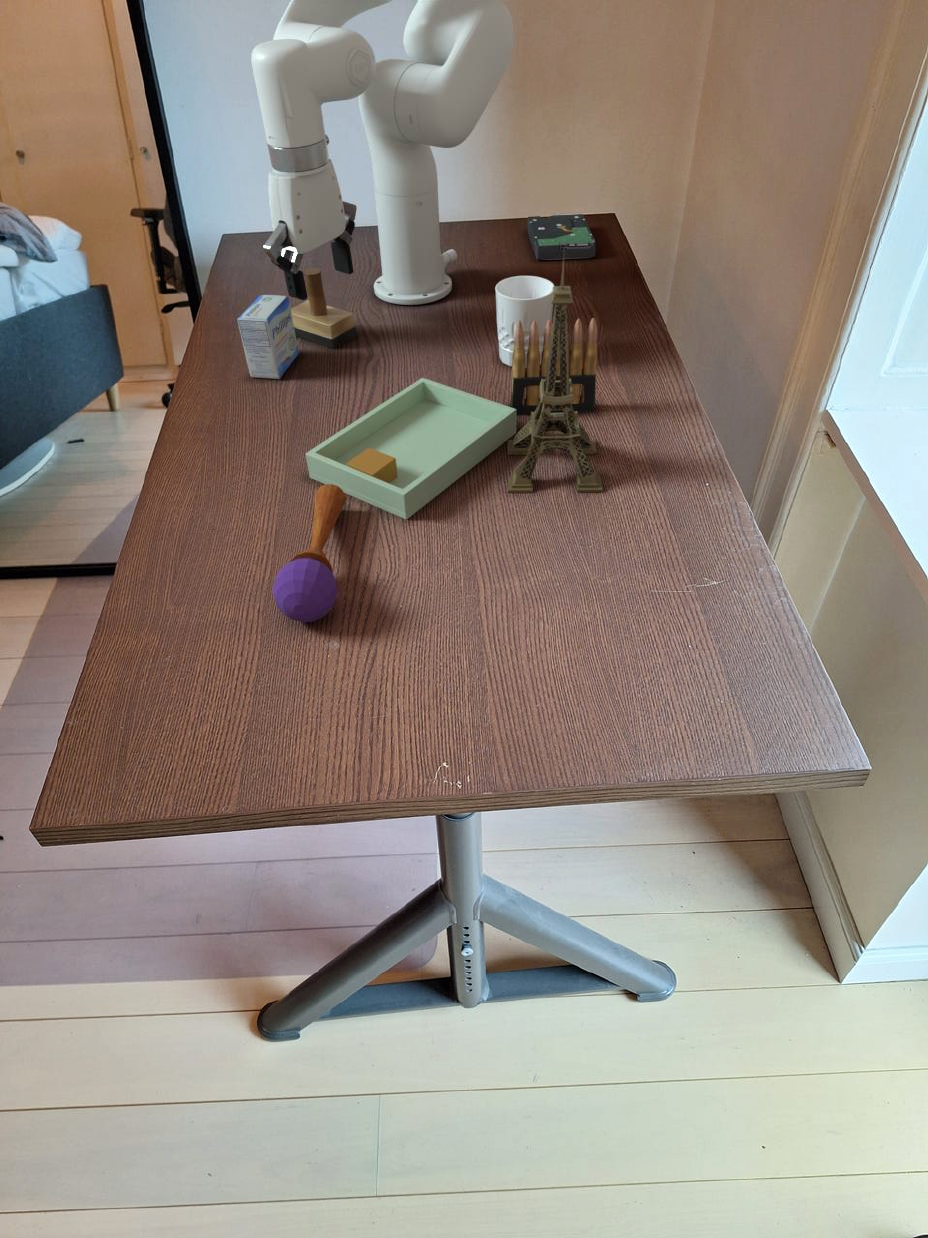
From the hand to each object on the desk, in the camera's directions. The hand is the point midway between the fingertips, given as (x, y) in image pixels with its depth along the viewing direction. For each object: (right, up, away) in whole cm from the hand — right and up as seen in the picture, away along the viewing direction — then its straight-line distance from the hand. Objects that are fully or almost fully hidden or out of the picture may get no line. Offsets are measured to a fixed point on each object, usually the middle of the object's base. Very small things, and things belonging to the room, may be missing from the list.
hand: (321, 284), depth 122 cm
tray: (+15, -28, -20) cm, 38 cm away
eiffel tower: (+31, -31, -23) cm, 49 cm away
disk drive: (+38, +18, +28) cm, 50 cm away
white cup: (+29, -12, -3) cm, 31 cm away
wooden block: (+10, -32, -25) cm, 42 cm away
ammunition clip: (+32, -22, -13) cm, 41 cm away
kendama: (+6, -43, -35) cm, 56 cm away
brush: (-1, -6, +4) cm, 7 cm away
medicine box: (-6, -13, -2) cm, 14 cm away
